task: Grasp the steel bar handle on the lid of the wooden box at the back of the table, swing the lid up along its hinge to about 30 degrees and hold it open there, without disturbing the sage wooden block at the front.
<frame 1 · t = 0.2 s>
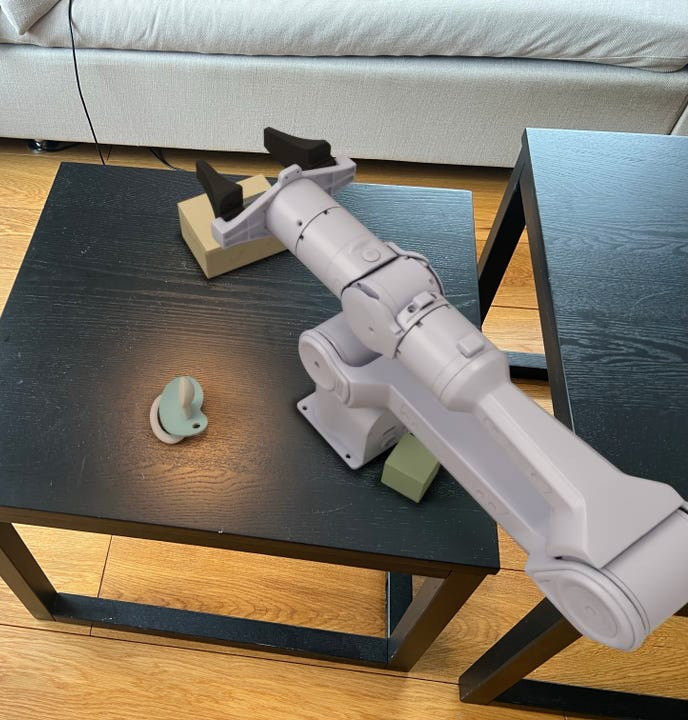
hand: (233, 152, 71), 21 cm above the table, tool horizontal, fingers open, 7 cm apart
lid: (234, 200, 89), point 7 cm above the table, hinge at 0.0°
block: (409, 477, 73), on the table
pacifier: (178, 419, 80), on the table
wooden box: (236, 241, 94), on the table
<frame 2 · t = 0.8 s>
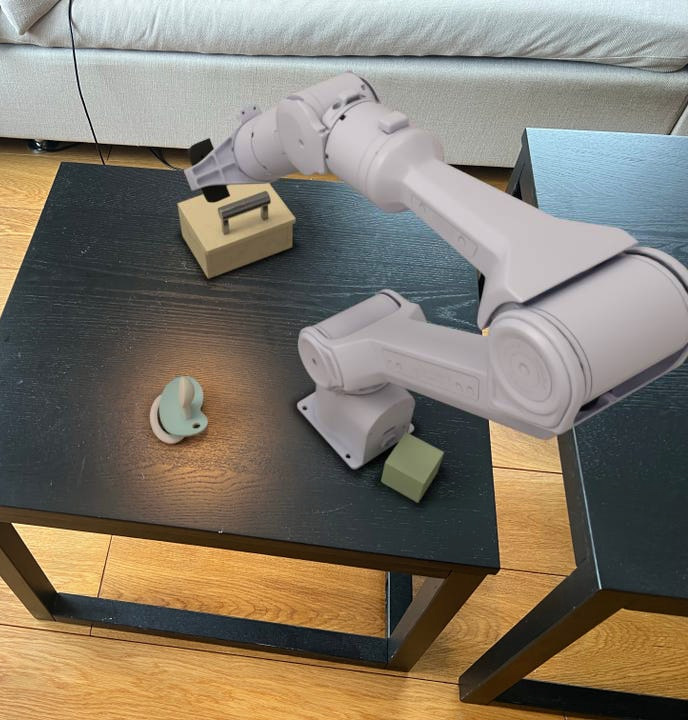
hand: (230, 162, 77), 17 cm above the table, tool tilted 50°, fingers open, 7 cm apart
nothing on the table moved.
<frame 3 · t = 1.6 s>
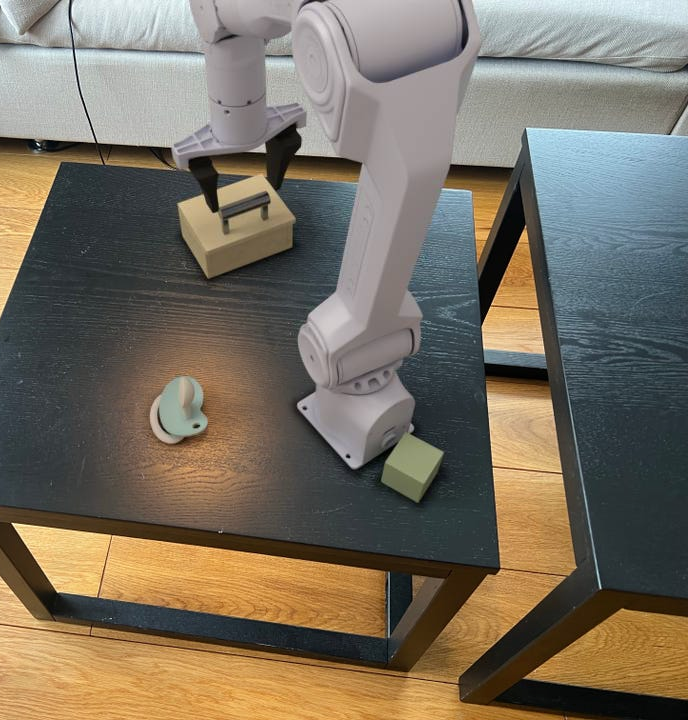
hand: (243, 196, 85), 10 cm above the table, tool pointing down, fingers open, 7 cm apart
nothing on the table moved.
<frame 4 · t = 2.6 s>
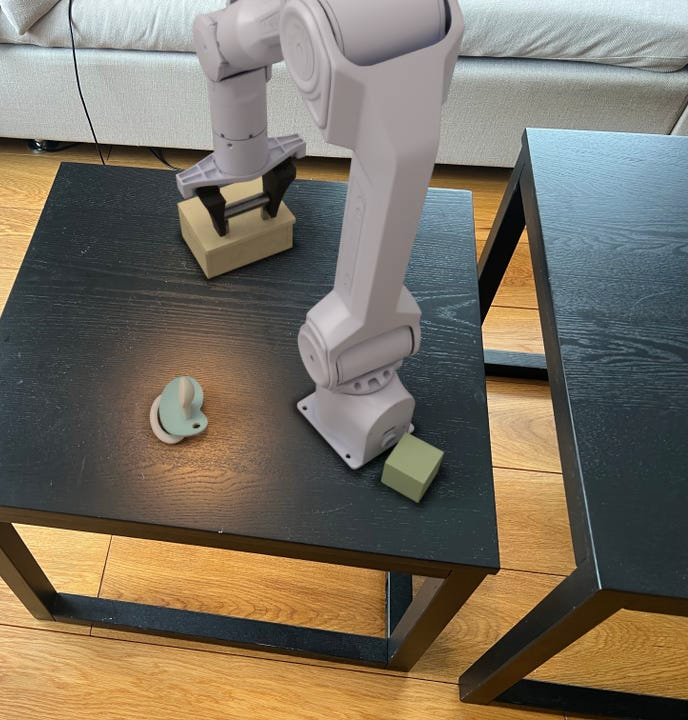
hand: (245, 221, 88), 6 cm above the table, tool pointing down, fingers closed on lid, 6 cm apart
lid: (234, 200, 89), point 7 cm above the table, hinge at 0.0°, touching gripper
everything else where it was.
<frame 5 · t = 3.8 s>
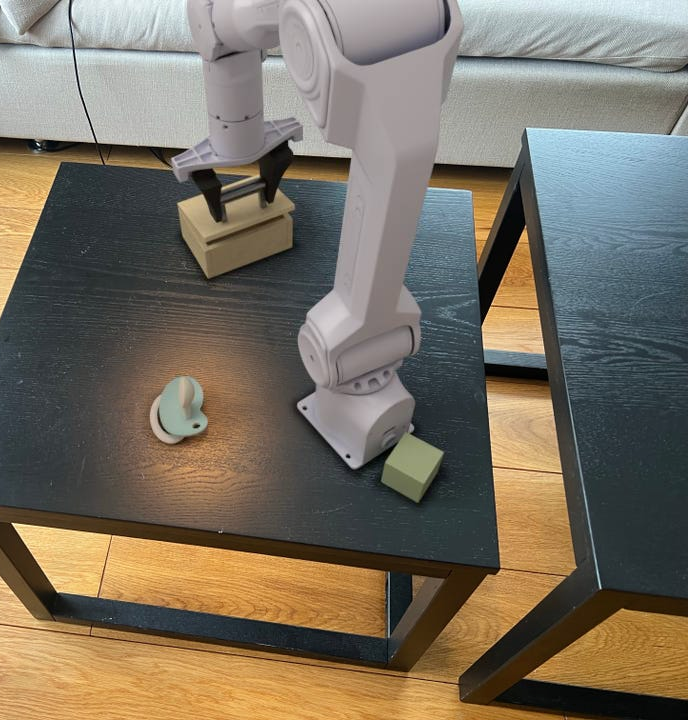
hand: (242, 207, 87), 8 cm above the table, tool pointing down, fingers closed on lid, 6 cm apart
lid: (232, 192, 88), point 8 cm above the table, hinge at 12.3°, touching gripper
everything else where it was.
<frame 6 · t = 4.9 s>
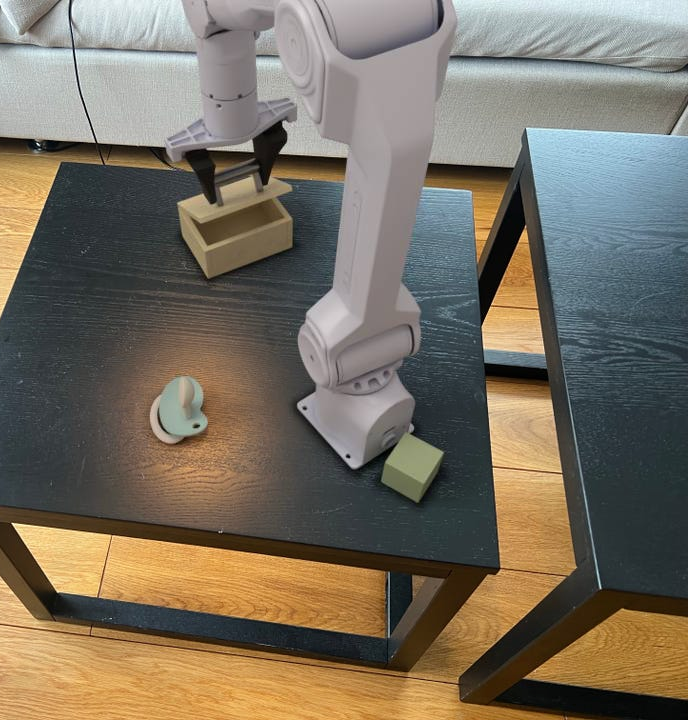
hand: (236, 189, 86), 9 cm above the table, tool pointing down, fingers closed on lid, 6 cm apart
lid: (228, 181, 88), point 9 cm above the table, hinge at 27.3°, touching gripper
everything else where it was.
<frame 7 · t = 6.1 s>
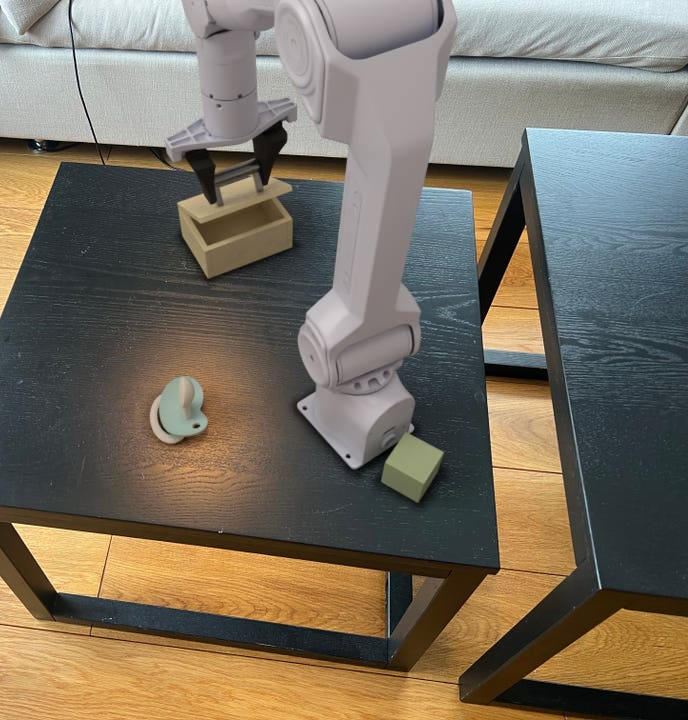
hand: (236, 189, 86), 9 cm above the table, tool pointing down, fingers closed on lid, 6 cm apart
lid: (228, 181, 88), point 9 cm above the table, hinge at 27.3°, touching gripper
everything else where it was.
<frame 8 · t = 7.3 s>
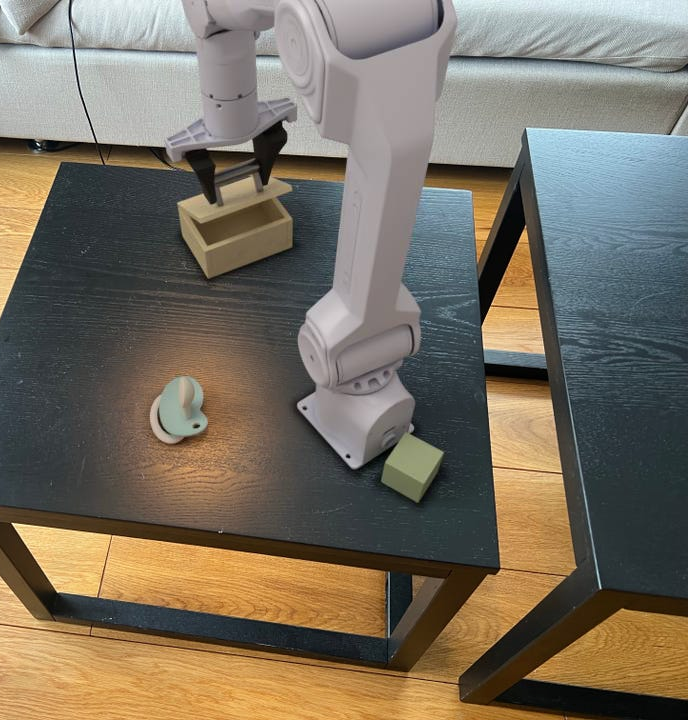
hand: (236, 189, 86), 9 cm above the table, tool pointing down, fingers closed on lid, 6 cm apart
lid: (228, 181, 88), point 9 cm above the table, hinge at 27.3°, touching gripper
everything else where it was.
at the end: lid at +27° (first picture: +0°); block moved 0.0 cm from its start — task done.
